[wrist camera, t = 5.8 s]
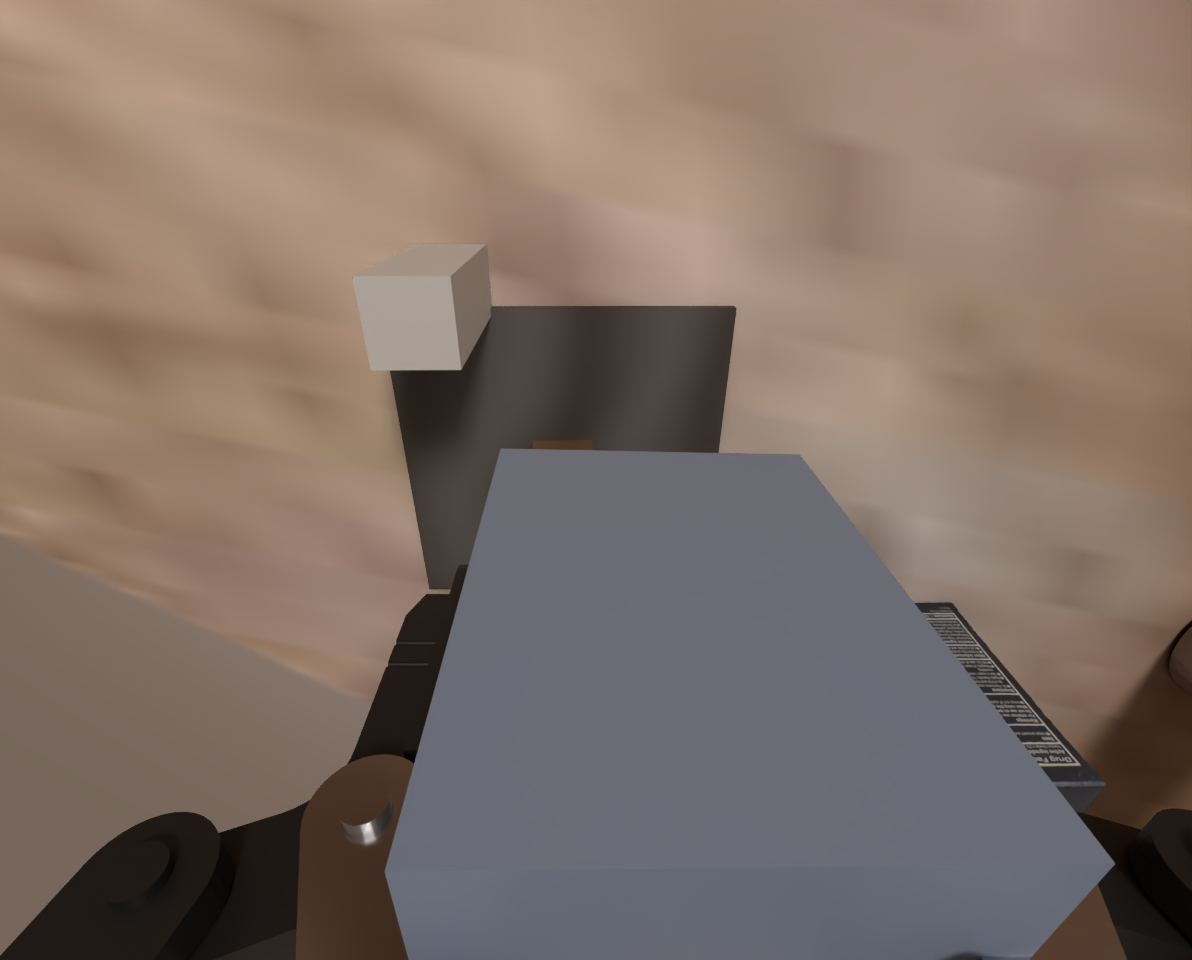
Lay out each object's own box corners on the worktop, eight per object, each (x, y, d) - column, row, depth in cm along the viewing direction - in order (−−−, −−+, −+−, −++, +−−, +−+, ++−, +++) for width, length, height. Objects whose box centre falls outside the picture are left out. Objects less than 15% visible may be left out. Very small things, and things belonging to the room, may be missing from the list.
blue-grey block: (799, 454, 10) (1115, 863, 4) (749, 666, 12) (899, 1102, 7) (500, 448, 10) (383, 872, 4) (511, 665, 12) (451, 1117, 6)
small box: (747, 684, 34) (812, 879, 24) (765, 601, 30) (846, 789, 21) (920, 681, 34) (1048, 871, 25) (955, 599, 31) (1116, 782, 22)
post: (486, 243, 21) (450, 276, 15) (492, 314, 22) (461, 369, 16) (416, 243, 21) (352, 276, 15) (426, 314, 22) (370, 370, 16)
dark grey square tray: (734, 306, 23) (792, 358, 16) (700, 579, 29) (733, 687, 23) (382, 306, 22) (308, 360, 16) (431, 583, 29) (393, 695, 23)
